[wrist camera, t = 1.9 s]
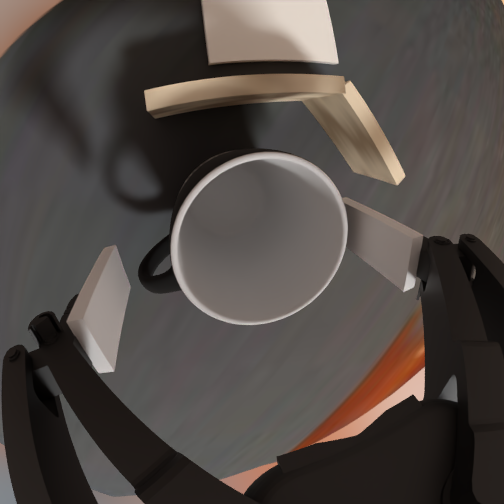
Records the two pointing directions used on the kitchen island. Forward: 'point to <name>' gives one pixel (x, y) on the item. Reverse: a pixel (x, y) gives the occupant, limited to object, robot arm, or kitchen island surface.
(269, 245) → the mug
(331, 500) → the robot arm
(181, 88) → the wooden boomerang
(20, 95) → the kitchen island surface
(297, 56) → the plate
